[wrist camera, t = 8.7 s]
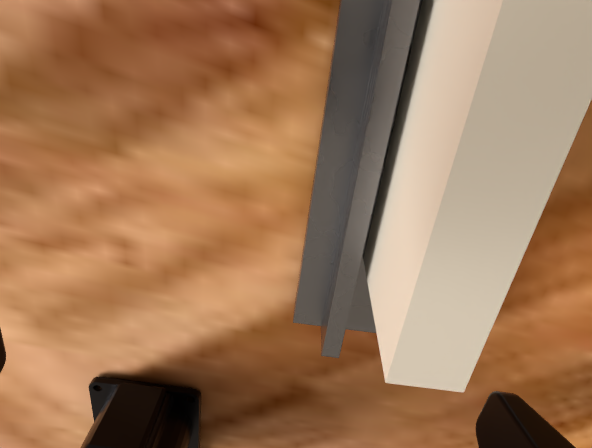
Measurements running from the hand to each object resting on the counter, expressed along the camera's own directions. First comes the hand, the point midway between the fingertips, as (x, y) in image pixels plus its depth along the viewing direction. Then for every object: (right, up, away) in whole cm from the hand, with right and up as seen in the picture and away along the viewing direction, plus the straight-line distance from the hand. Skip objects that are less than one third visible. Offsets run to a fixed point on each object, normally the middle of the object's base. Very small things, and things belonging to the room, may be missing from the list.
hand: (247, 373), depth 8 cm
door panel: (+6, +6, +9) cm, 12 cm away
